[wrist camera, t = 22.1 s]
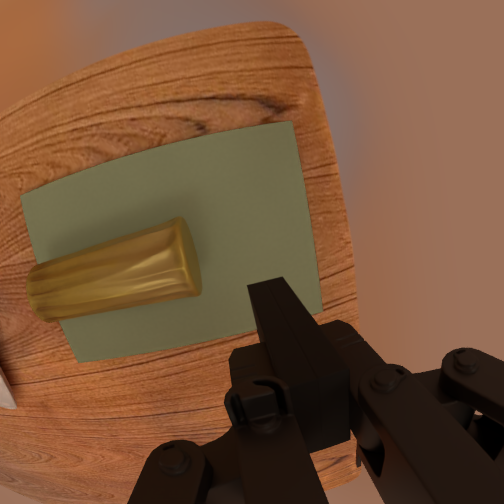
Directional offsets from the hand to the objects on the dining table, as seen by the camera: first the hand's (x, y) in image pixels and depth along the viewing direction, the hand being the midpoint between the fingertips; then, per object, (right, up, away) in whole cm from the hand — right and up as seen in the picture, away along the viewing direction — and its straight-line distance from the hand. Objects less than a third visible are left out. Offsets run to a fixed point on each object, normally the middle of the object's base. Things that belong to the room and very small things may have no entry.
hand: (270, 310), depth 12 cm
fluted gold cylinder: (-5, +2, +10) cm, 11 cm away
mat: (-8, +2, +13) cm, 16 cm away
